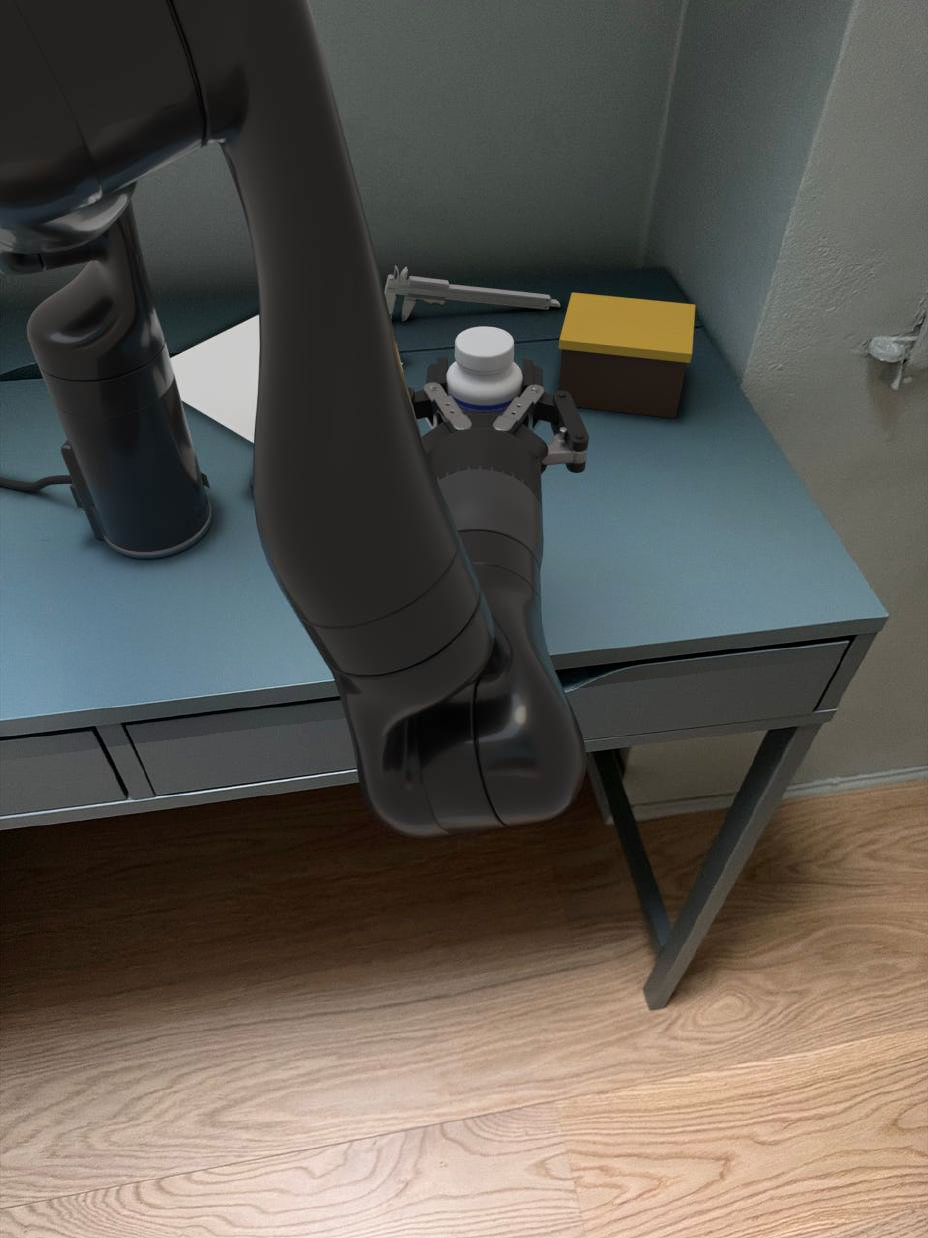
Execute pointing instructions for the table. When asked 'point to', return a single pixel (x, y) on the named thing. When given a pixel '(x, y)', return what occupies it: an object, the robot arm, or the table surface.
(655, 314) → the container
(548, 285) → the table surface
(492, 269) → the table surface
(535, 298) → the caliper
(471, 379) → the pill bottle
